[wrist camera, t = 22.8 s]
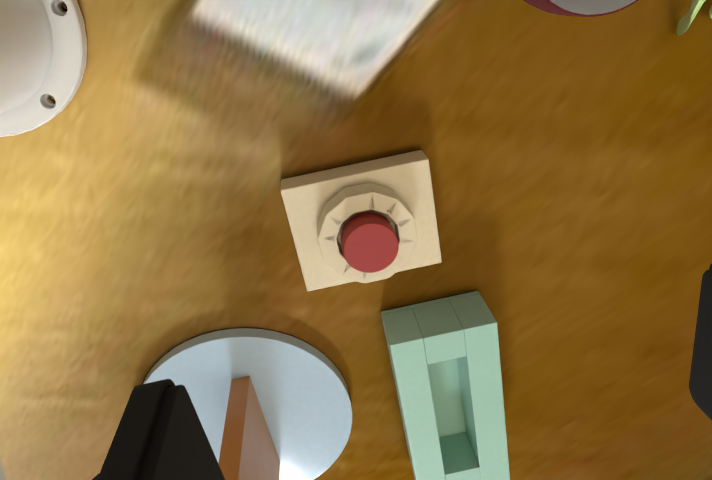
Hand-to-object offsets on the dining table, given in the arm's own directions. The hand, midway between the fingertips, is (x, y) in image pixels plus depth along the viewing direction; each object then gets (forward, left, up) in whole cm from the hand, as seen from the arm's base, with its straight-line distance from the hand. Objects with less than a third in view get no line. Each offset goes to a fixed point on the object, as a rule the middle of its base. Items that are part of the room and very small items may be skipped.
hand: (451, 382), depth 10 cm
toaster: (+4, -26, -28) cm, 39 cm away
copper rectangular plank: (-12, -25, -27) cm, 39 cm away
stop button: (0, -9, -25) cm, 26 cm away
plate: (-13, -25, -28) cm, 40 cm away
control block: (0, -9, -28) cm, 30 cm away
